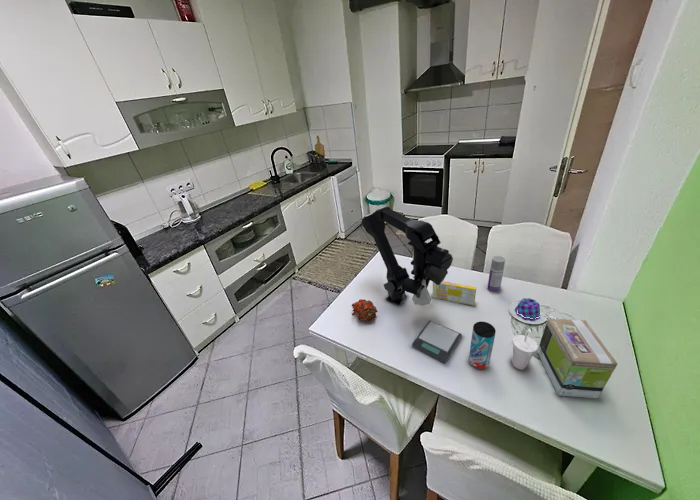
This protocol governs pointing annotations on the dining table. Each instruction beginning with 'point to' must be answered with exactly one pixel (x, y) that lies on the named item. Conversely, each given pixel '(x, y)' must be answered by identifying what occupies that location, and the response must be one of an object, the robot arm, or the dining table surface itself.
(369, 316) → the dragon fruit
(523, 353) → the smoothie
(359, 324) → the dining table surface
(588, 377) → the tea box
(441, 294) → the candy box
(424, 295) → the flask
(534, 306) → the pudding
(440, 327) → the scale
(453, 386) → the dining table surface
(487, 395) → the dining table surface
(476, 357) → the beverage can
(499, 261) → the container
